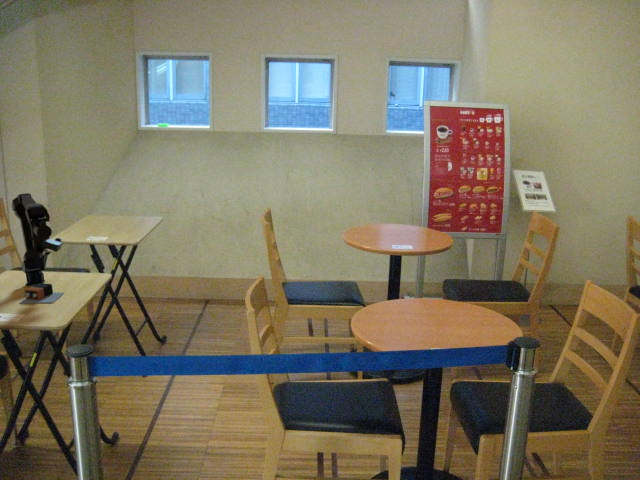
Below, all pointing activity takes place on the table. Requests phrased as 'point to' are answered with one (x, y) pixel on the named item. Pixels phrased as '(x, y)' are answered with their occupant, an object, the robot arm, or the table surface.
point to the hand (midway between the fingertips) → (43, 269)
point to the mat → (43, 299)
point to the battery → (38, 291)
